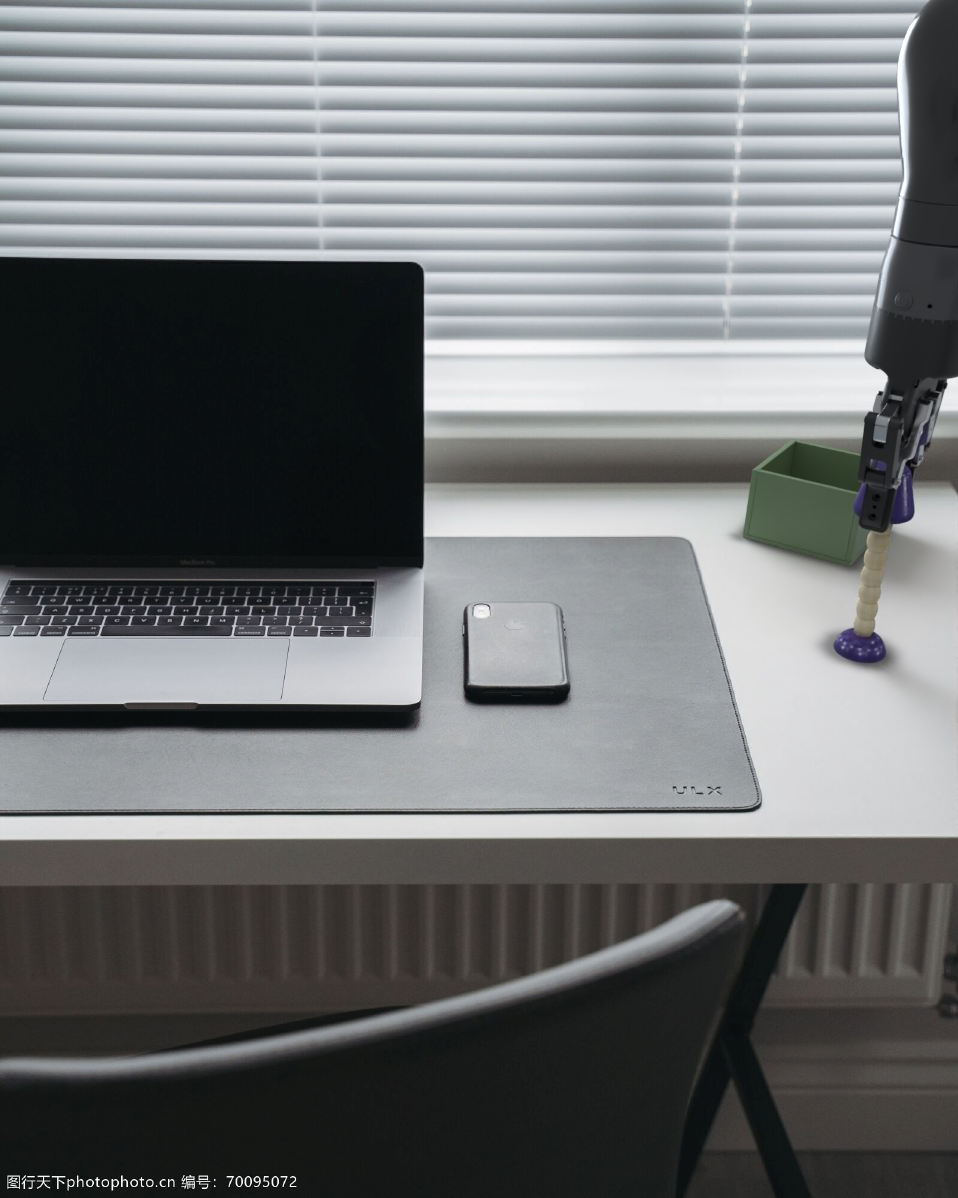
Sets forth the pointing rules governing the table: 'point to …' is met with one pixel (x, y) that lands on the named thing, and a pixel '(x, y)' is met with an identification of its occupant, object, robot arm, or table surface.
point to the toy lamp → (874, 579)
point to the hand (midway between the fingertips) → (883, 517)
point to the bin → (807, 502)
